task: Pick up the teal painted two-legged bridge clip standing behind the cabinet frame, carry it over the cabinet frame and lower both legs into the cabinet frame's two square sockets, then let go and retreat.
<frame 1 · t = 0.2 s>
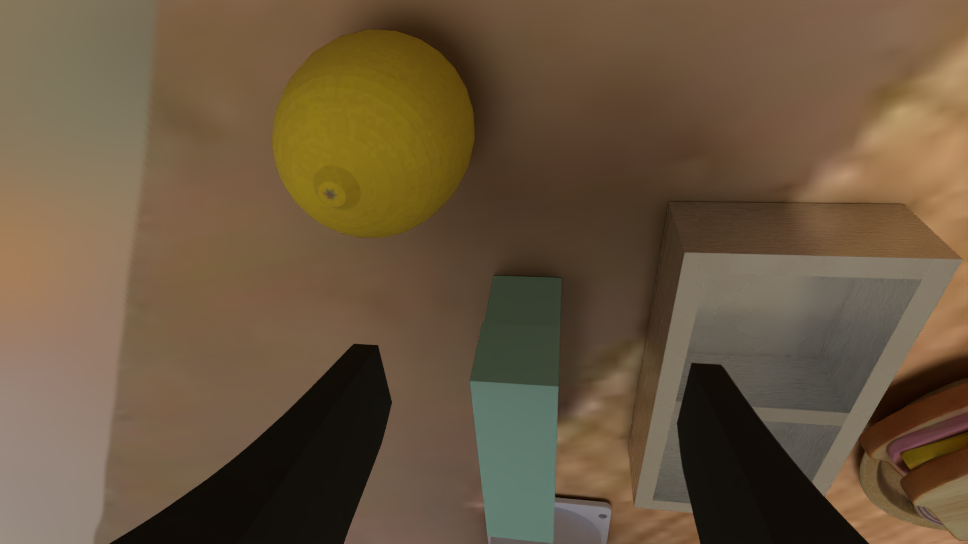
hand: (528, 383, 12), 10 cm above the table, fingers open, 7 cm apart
cabinet frame: (736, 352, 24), on the table
lemon: (415, 90, 19), on the table
clip: (528, 355, 26), on the table
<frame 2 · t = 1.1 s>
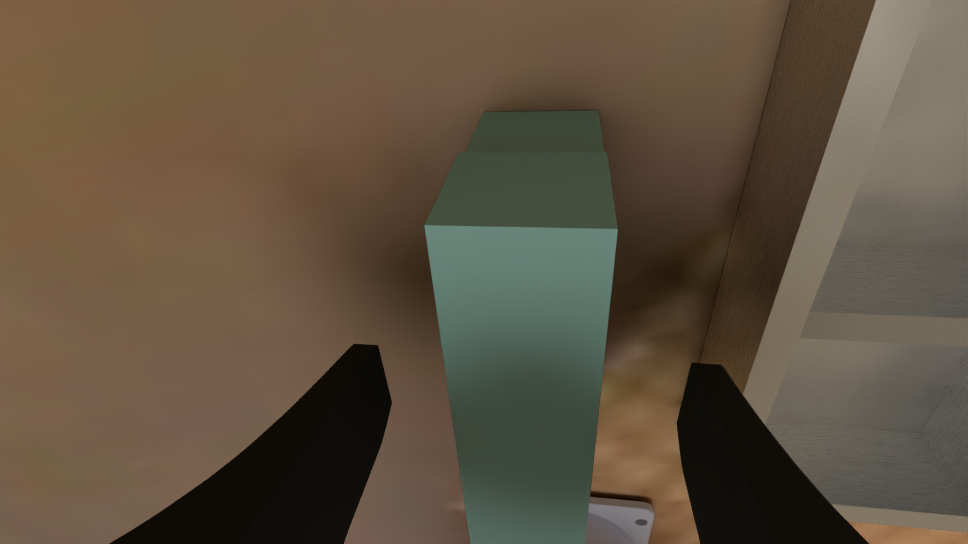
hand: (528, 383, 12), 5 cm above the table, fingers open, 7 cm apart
cabinet frame: (885, 247, 14), on the table
clip: (539, 266, 16), on the table
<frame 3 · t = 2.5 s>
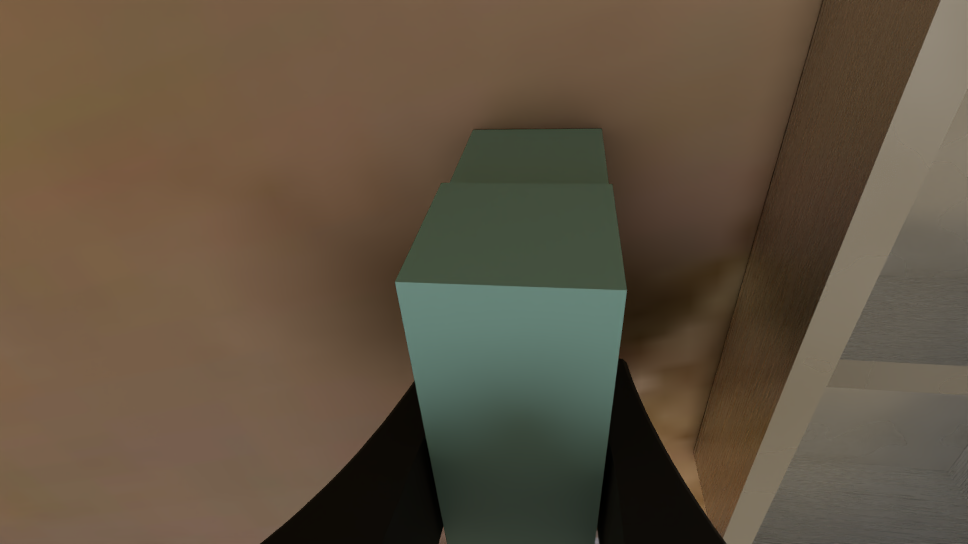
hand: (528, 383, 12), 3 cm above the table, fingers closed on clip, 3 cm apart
cabinet frame: (917, 278, 13), on the table
clip: (536, 294, 15), on the table, touching gripper
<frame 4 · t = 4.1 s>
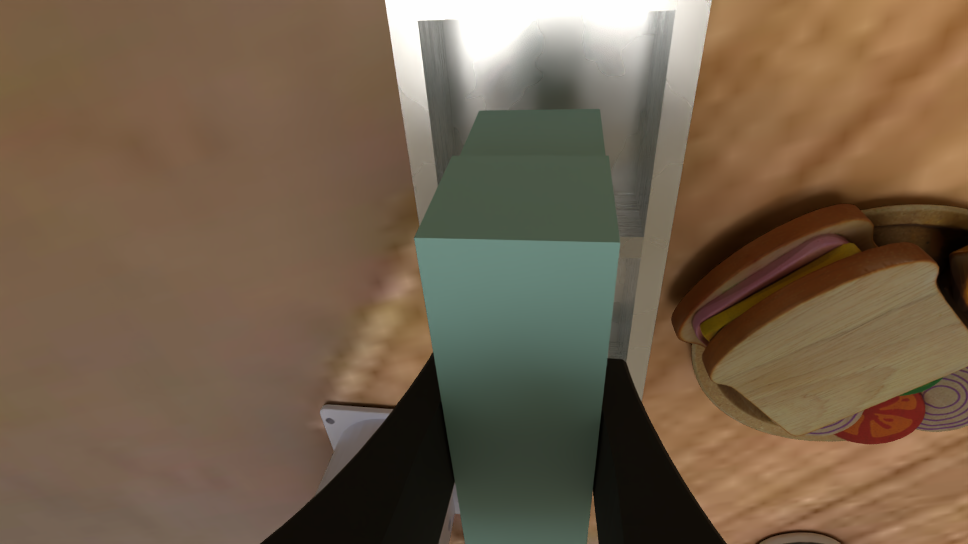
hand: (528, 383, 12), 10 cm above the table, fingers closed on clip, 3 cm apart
cabinet frame: (545, 196, 20), on the table
toy sandwich meal: (826, 317, 22), on the table
clip: (538, 268, 16), point 5 cm above the table, touching gripper
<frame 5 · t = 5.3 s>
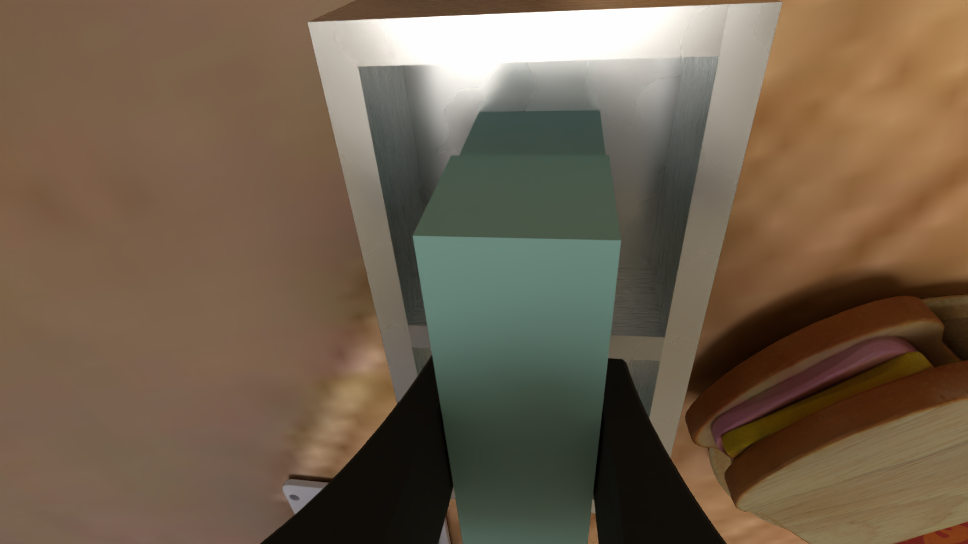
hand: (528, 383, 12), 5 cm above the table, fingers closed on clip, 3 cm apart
cabinet frame: (538, 265, 16), on the table
toy sandwich meal: (871, 407, 18), on the table
clip: (538, 271, 16), resting on cabinet frame, touching gripper
when the fingers open (5 cm above the table, at t = 5.6 s): clip stays where it is, resting on cabinet frame.
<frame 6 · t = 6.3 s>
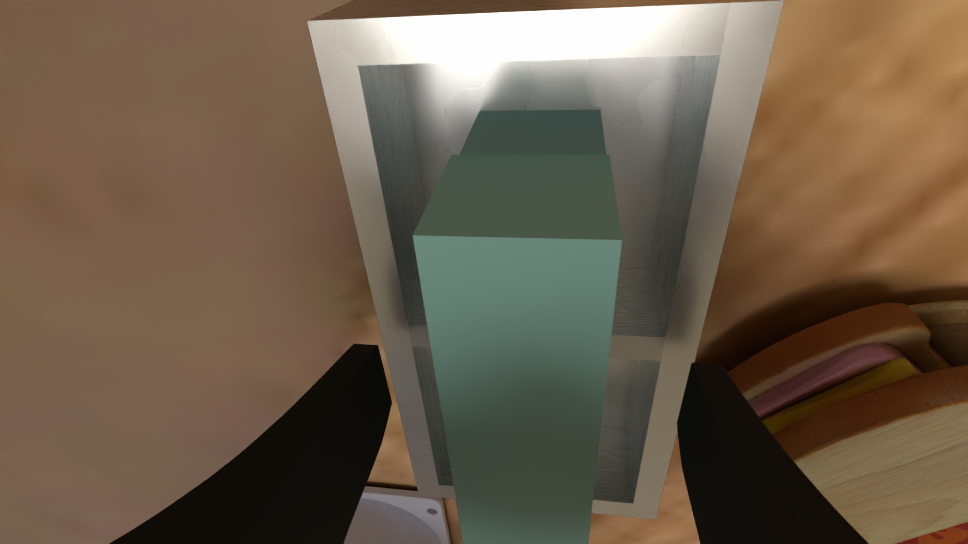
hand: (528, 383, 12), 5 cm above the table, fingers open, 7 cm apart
cabinet frame: (539, 265, 16), on the table
toy sandwich meal: (864, 411, 18), on the table
clip: (538, 271, 16), resting on cabinet frame
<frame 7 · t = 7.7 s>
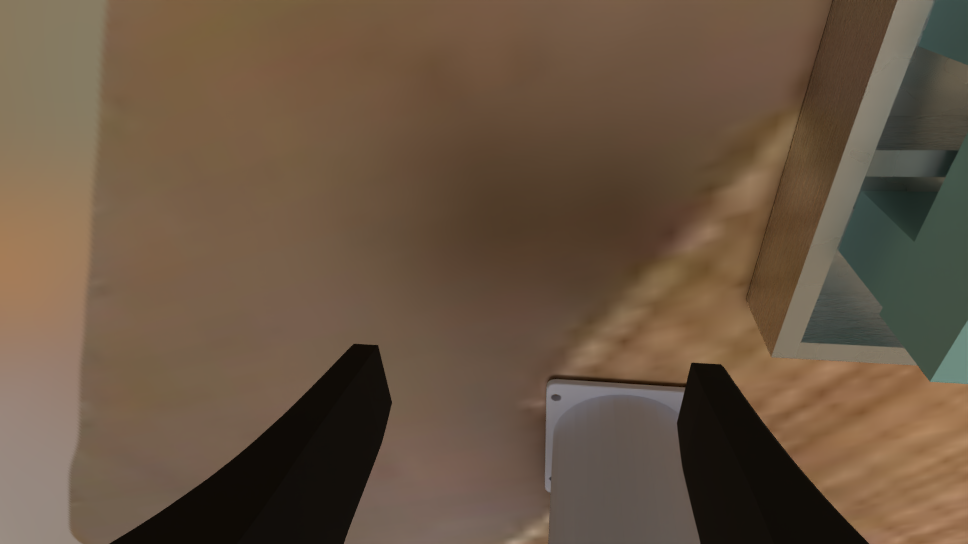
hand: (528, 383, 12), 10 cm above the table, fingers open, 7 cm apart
cabinet frame: (928, 122, 17), on the table
clip: (938, 123, 17), resting on cabinet frame
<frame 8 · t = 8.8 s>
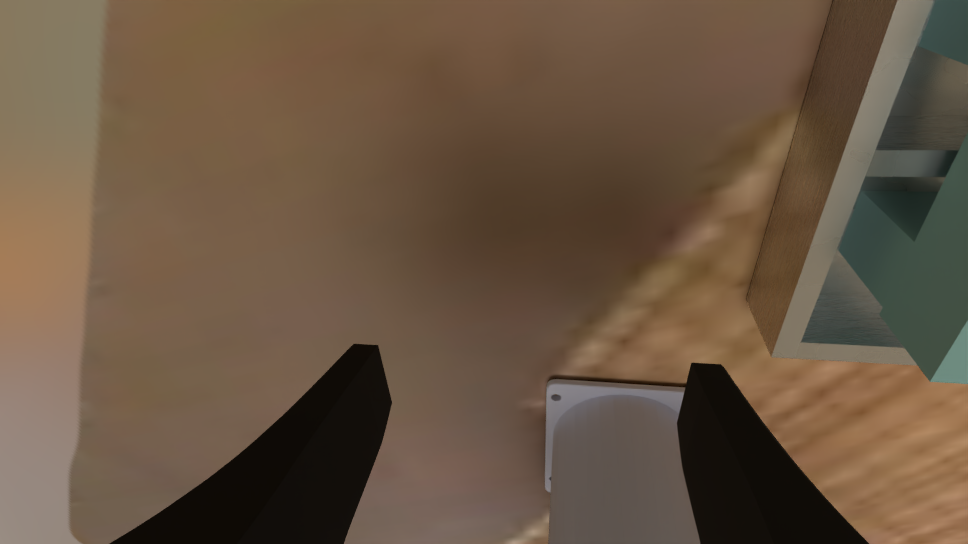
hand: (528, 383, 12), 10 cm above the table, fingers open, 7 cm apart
cabinet frame: (928, 122, 17), on the table
clip: (938, 123, 17), resting on cabinet frame
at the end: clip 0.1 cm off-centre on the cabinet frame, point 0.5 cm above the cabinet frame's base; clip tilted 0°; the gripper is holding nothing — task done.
